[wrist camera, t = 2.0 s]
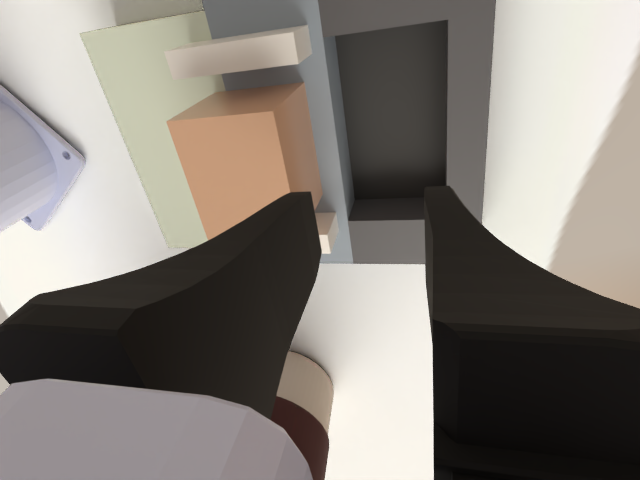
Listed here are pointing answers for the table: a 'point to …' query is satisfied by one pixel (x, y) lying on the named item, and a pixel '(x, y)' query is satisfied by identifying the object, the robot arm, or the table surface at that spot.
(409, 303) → the table surface
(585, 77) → the table surface
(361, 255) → the gray recessed tray
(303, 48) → the channel walls
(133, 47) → the pad
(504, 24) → the table surface
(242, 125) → the terracotta block
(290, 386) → the coffee cup
